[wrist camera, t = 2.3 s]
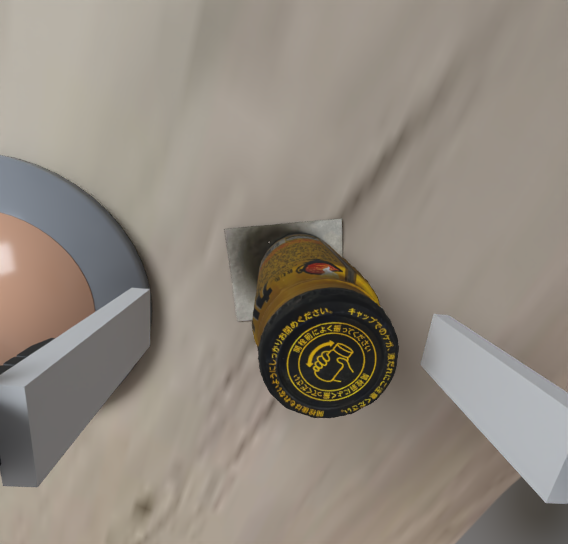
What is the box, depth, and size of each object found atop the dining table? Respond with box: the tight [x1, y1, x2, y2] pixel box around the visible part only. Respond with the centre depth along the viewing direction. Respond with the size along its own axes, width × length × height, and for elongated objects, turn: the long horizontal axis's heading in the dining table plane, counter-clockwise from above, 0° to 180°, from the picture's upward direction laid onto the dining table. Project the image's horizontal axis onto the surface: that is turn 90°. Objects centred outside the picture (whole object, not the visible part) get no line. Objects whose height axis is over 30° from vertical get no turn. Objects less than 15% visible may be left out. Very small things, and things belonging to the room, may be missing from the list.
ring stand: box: [0, 155, 152, 386], centre depth 20 cm, size 20×20×1 cm
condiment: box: [224, 219, 399, 418], centre depth 16 cm, size 7×8×12 cm
